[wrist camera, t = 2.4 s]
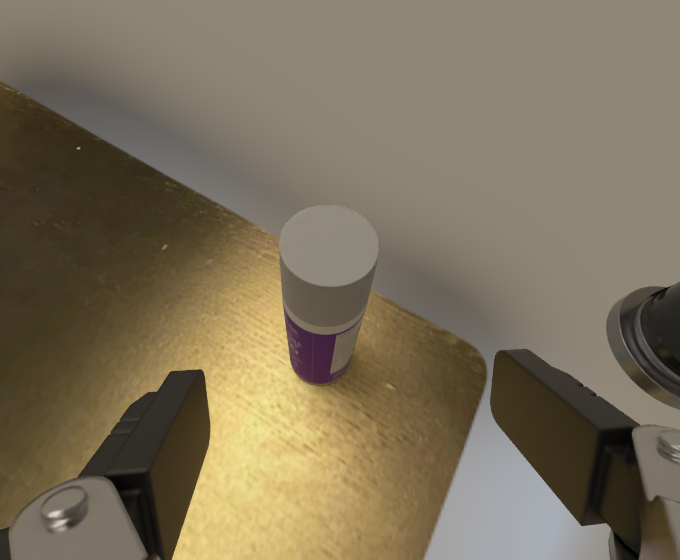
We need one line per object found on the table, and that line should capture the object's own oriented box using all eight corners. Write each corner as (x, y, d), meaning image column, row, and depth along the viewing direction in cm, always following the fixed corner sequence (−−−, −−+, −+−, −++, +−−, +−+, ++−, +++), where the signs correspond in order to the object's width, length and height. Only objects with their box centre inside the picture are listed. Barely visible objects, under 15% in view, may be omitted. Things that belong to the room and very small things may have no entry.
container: (277, 359, 29) (252, 246, 16) (316, 317, 31) (322, 186, 18) (324, 399, 28) (337, 311, 15) (361, 352, 30) (403, 239, 17)
